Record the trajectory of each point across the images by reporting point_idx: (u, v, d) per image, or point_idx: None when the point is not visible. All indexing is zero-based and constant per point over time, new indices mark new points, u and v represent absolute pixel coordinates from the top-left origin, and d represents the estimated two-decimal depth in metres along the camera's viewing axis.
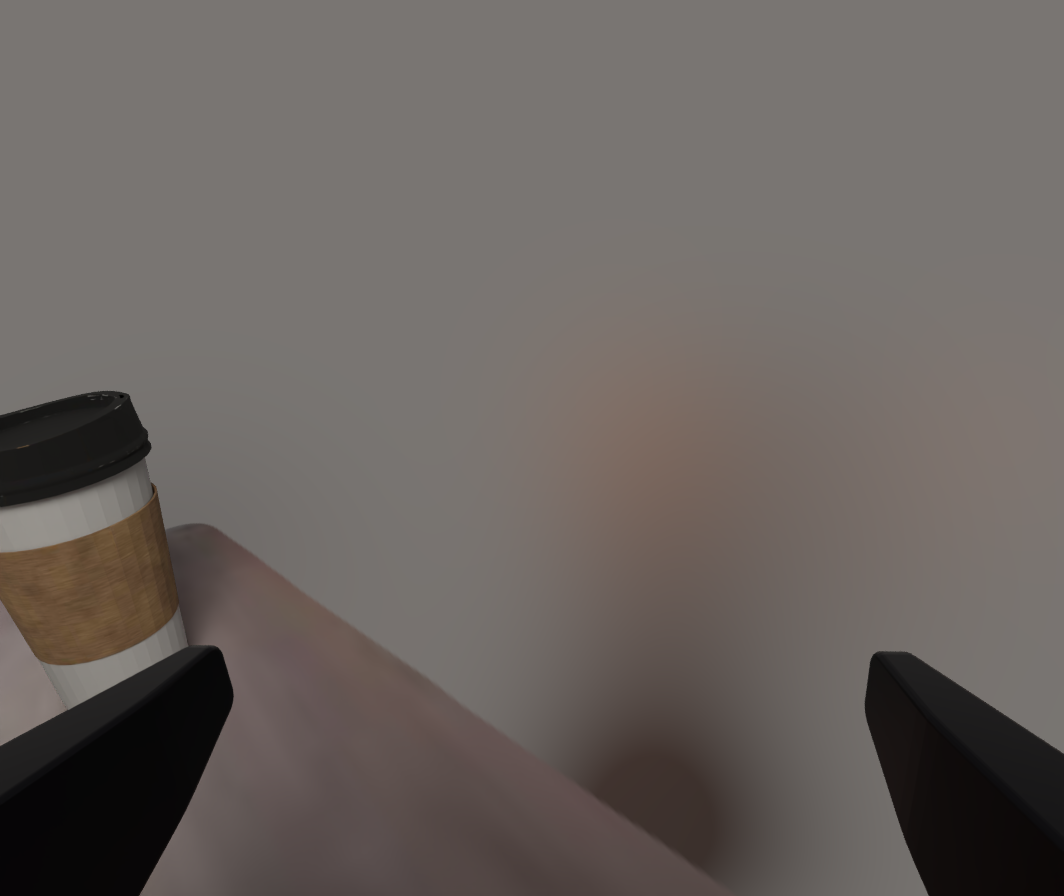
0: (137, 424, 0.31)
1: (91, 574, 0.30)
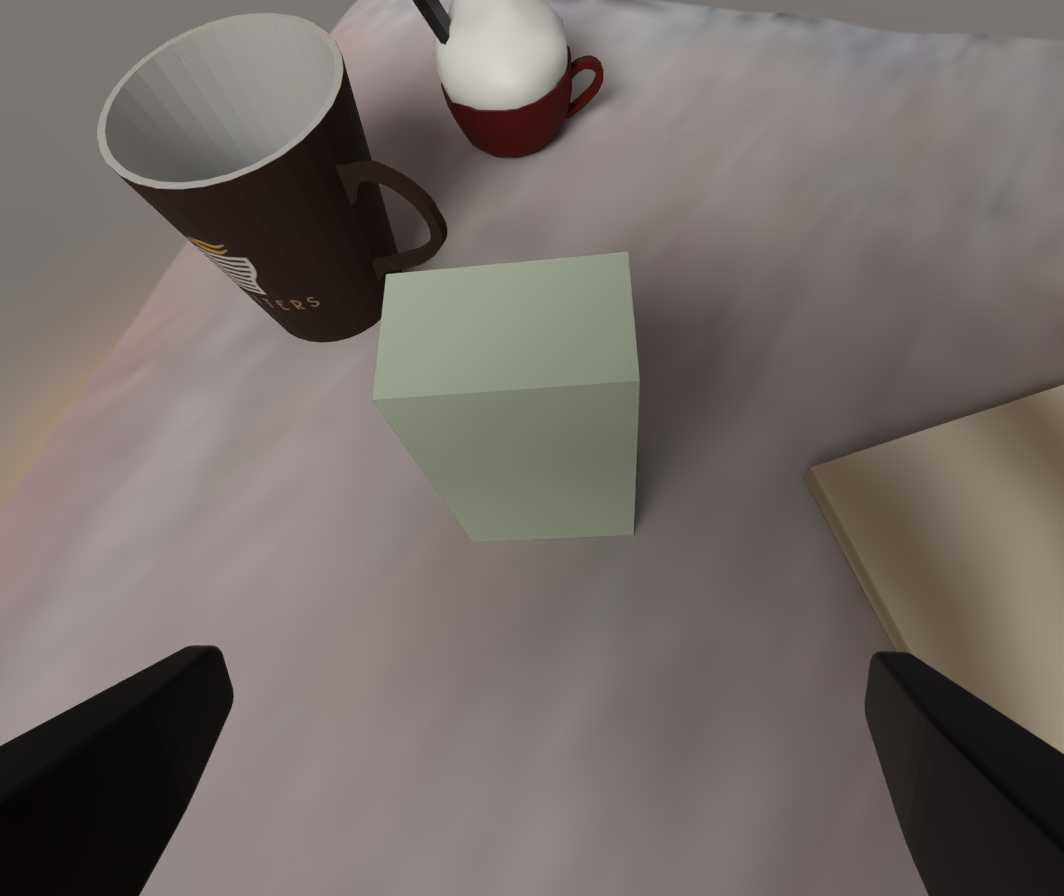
0: None
1: None
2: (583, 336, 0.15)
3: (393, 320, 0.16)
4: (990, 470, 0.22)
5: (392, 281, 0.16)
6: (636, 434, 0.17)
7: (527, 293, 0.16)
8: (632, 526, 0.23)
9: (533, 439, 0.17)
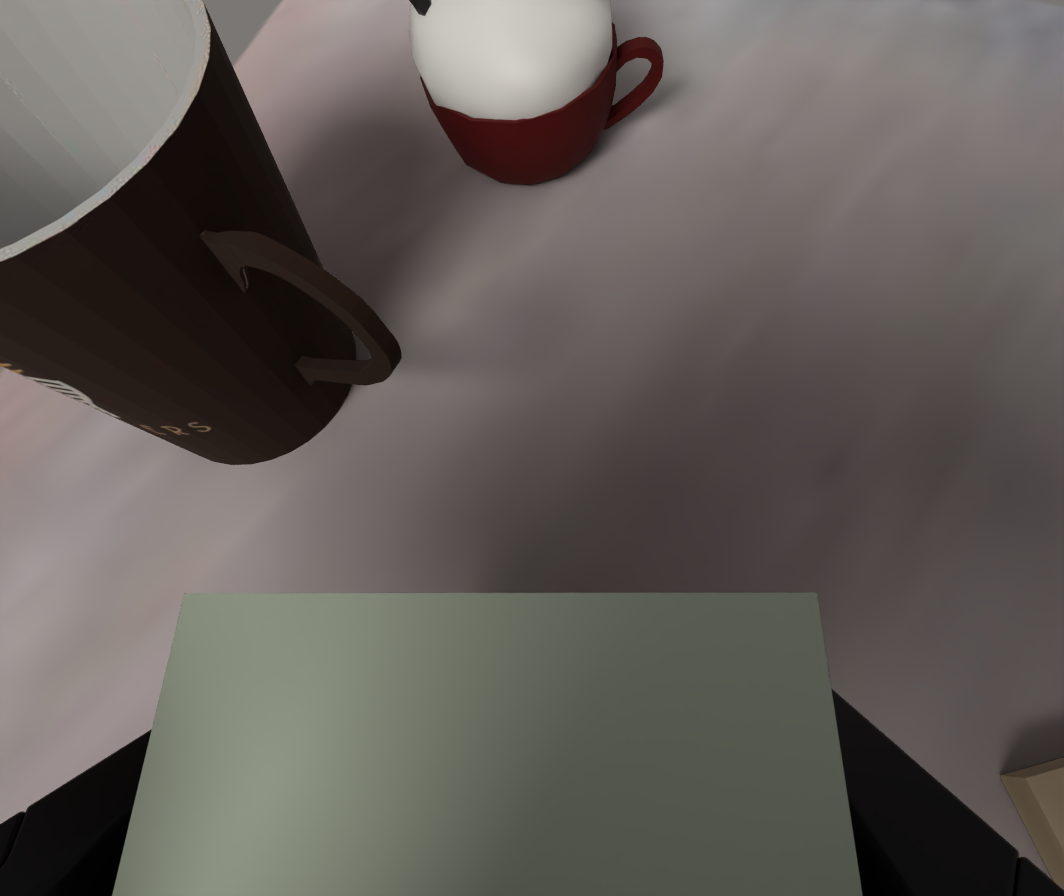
0: None
1: None
2: None
3: (177, 753, 0.06)
4: None
5: (194, 620, 0.06)
6: None
7: (538, 707, 0.06)
8: None
9: None
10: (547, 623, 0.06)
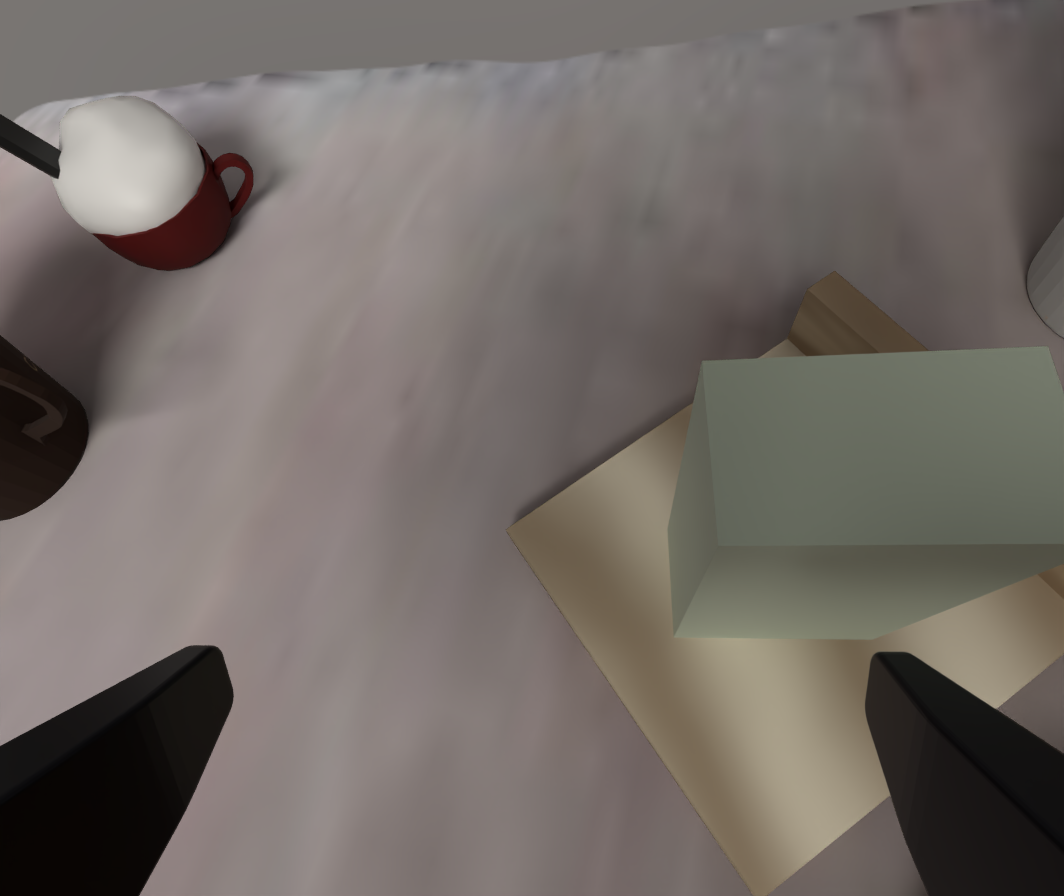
0: None
1: None
2: (1011, 469, 0.11)
3: (725, 428, 0.12)
4: (665, 489, 0.23)
5: (713, 371, 0.12)
6: (1019, 579, 0.13)
7: (912, 400, 0.12)
8: (882, 635, 0.19)
9: (876, 579, 0.13)
10: (908, 365, 0.12)
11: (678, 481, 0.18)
